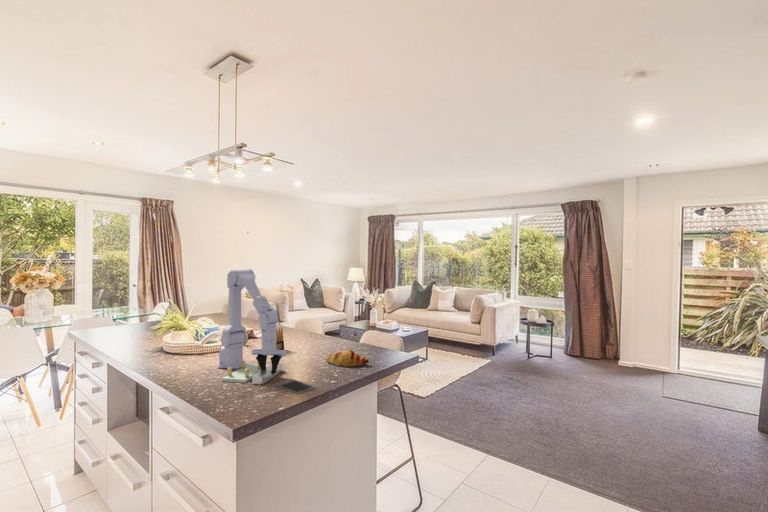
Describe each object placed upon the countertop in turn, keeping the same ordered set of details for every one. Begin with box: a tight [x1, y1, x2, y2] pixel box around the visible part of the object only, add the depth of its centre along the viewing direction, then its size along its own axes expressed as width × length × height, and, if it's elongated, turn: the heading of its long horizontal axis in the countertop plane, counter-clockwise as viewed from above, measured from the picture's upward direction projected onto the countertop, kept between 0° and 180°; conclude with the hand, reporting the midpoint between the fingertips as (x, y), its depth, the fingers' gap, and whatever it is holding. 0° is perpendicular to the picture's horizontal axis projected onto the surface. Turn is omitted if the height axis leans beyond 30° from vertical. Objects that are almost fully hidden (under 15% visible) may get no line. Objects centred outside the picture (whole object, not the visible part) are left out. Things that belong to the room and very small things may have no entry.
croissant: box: [325, 349, 369, 367], centre depth 166 cm, size 21×10×8 cm, turn 74°
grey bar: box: [251, 362, 283, 385], centre depth 148 cm, size 18×5×3 cm, turn 169°
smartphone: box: [274, 378, 316, 395], centre depth 137 cm, size 15×8×1 cm, turn 50°
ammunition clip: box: [276, 327, 285, 351], centre depth 188 cm, size 11×2×12 cm, turn 150°
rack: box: [221, 360, 271, 384], centre depth 152 cm, size 10×20×4 cm, turn 169°
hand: (268, 372), depth 149 cm, fingers closed on grey bar, 4 cm apart
